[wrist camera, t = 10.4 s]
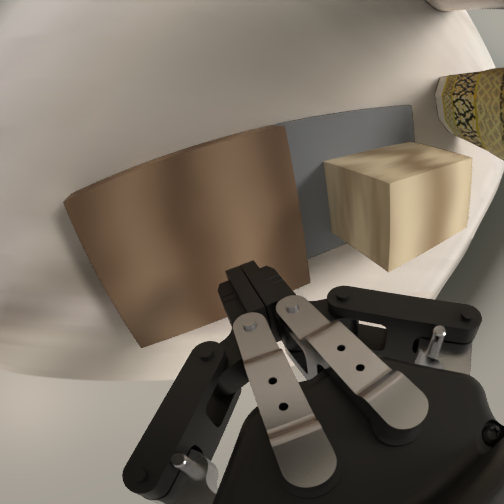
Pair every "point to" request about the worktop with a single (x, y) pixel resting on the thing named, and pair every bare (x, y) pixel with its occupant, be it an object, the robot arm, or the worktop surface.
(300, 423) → the robot arm
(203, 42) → the worktop surface
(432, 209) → the block
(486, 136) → the ceramic cup
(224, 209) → the brown flat slab
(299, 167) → the mat
